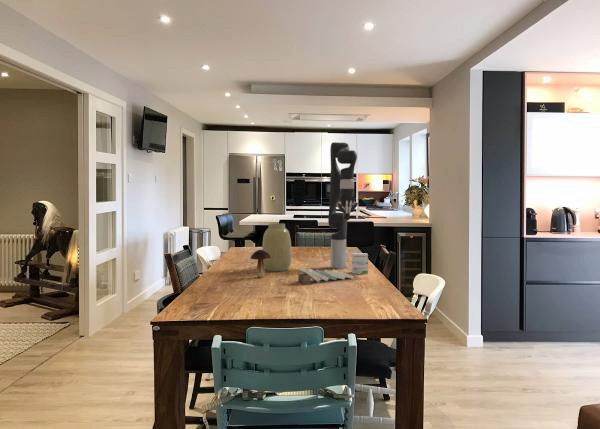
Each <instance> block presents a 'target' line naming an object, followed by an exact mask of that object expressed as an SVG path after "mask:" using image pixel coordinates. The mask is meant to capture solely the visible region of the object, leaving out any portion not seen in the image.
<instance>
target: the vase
mask: <svg viewBox="0 0 600 429" xmlns="http://www.w3.org/2000/svg"><path fill="white" fill-rule="evenodd" d="M262 238H263V239H262V249H261V250H263V251H265V252H267V253H268V254H269V255H270V257H271V258H266V259H263V261H264V270H266V271H267V272H268V271H269V272H285V271H287V270H289V269H290V266H291V264H292V240H291V235H290V231H289V229H287V228H286V224H285V223H281V222H279V223H268V228H266V230H265V231H264V233H263V237H262Z"/></svg>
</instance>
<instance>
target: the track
mask: <svg viewBox="0 0 600 429" xmlns="http://www.w3.org/2000/svg"><path fill="white" fill-rule="evenodd" d="M297 275H298V277H297V280H294V281H293V282H294V283H295V284H298V285H301V286H310V285H318V284H319V285H320V284H328V283H331V284H332V283H338V282H339V283H341V282H350V281H351V282H352V281H360V280H363V278H362V277H358V276H356V275H353V276H354V277H353V279H351V278H348V277H345V276H344V277H345V280H343V279H340V278H338V277H336V278H337V279H336V281H335V280H333V279H330V278H328V277H327V278H328V281H324V280H322V279H320V278H319V279H320V281H319V282H316V281H314V280H313V279H311V276H310V275H307V274H305V273H304V272H300V273H298V274H297Z"/></svg>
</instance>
